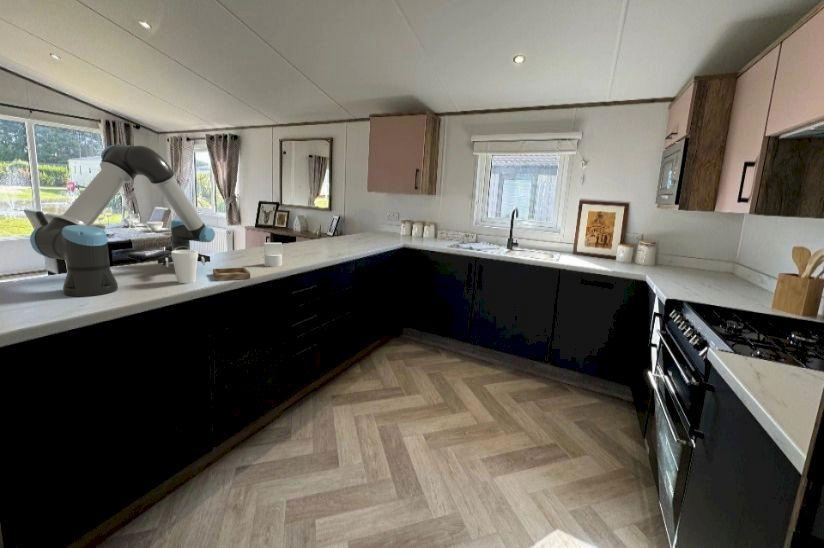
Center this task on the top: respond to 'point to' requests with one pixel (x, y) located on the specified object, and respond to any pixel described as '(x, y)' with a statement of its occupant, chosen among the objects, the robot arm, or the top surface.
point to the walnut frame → (231, 273)
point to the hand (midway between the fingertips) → (186, 263)
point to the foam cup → (185, 265)
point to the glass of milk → (273, 254)
